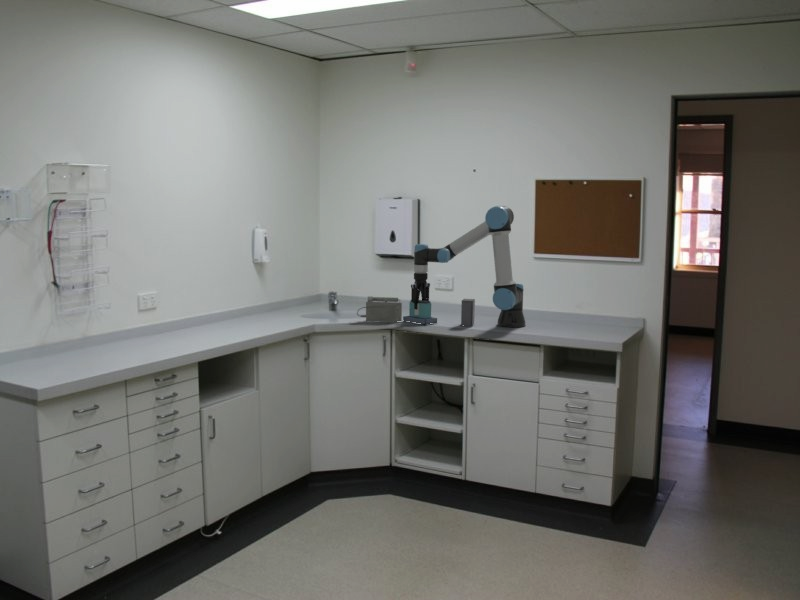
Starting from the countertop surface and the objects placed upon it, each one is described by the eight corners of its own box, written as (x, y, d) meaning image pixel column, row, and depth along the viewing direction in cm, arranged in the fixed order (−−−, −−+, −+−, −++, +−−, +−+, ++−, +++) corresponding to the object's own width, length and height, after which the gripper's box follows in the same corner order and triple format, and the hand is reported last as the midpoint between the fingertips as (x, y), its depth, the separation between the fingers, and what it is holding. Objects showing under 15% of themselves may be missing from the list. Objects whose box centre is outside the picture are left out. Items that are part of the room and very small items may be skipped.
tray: (437, 323, 411) (437, 318, 411) (425, 325, 404) (425, 319, 404) (414, 319, 423) (414, 314, 422) (403, 321, 416) (403, 316, 415)
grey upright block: (474, 324, 409) (474, 299, 407) (472, 326, 401) (472, 300, 399) (463, 324, 410) (463, 298, 408) (461, 326, 403) (461, 300, 401)
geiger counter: (402, 296, 416) (357, 295, 418) (401, 297, 409) (356, 296, 412) (402, 321, 417) (357, 320, 420) (400, 323, 411) (355, 321, 414)
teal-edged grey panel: (431, 317, 410) (431, 301, 409) (425, 318, 407) (425, 302, 406) (414, 315, 419) (415, 299, 417) (409, 315, 415) (409, 299, 414)
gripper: (426, 271, 419) (425, 312, 422) (404, 272, 406) (404, 315, 409) (436, 272, 414) (435, 313, 417) (415, 273, 401) (414, 316, 404)
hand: (420, 314), depth 413 cm, fingers closed on teal-edged grey panel, 4 cm apart
